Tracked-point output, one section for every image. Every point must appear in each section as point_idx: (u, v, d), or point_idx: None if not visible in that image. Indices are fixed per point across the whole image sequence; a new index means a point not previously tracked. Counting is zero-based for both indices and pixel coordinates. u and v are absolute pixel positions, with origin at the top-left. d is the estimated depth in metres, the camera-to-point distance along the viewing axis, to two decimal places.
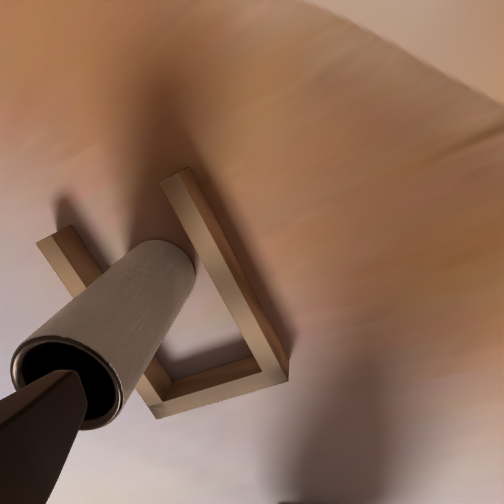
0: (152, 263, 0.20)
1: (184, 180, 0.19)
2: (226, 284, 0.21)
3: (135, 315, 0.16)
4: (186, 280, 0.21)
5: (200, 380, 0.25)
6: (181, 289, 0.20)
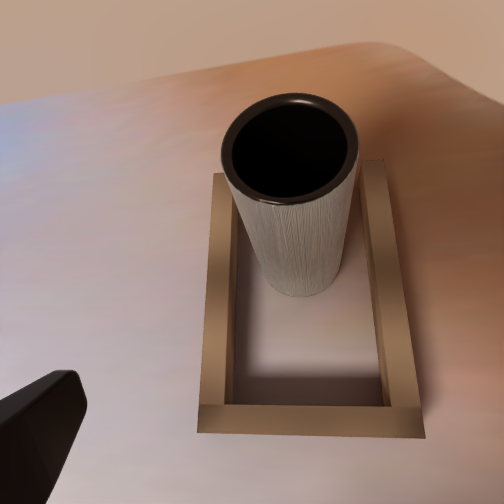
0: None
1: (383, 169, 0.21)
2: (388, 270, 0.18)
3: None
4: None
5: None
6: (342, 249, 0.18)
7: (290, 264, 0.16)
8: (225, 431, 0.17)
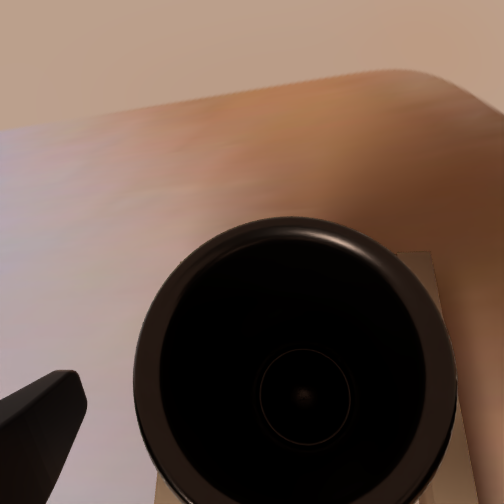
0: None
1: (430, 266, 0.14)
2: (448, 449, 0.11)
3: None
4: None
5: None
6: None
7: None
8: None
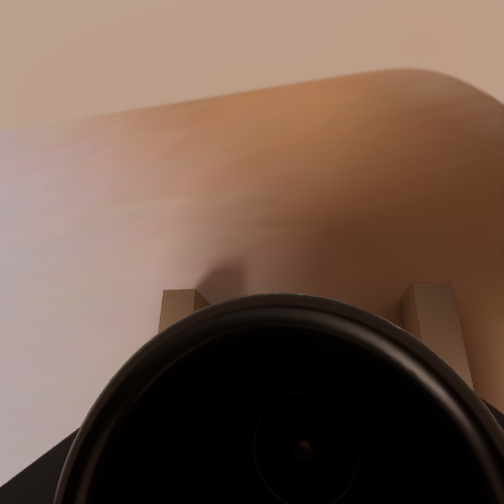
0: None
1: (451, 298, 0.12)
2: None
3: None
4: None
5: None
6: None
7: None
8: None
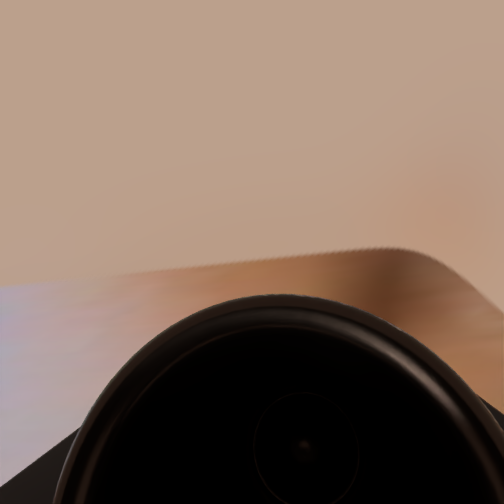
0: None
1: None
2: None
3: None
4: None
5: None
6: None
7: None
8: None
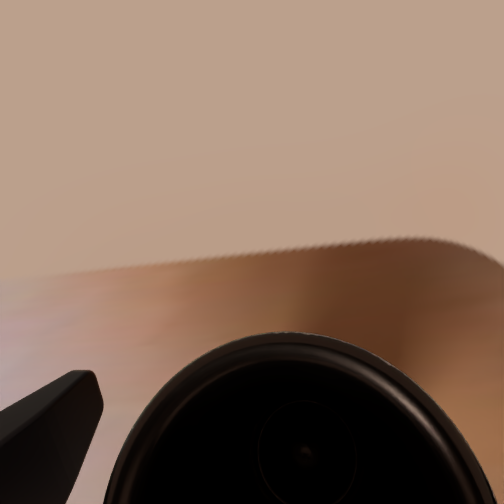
0: None
1: None
2: None
3: None
4: None
5: None
6: None
7: None
8: None
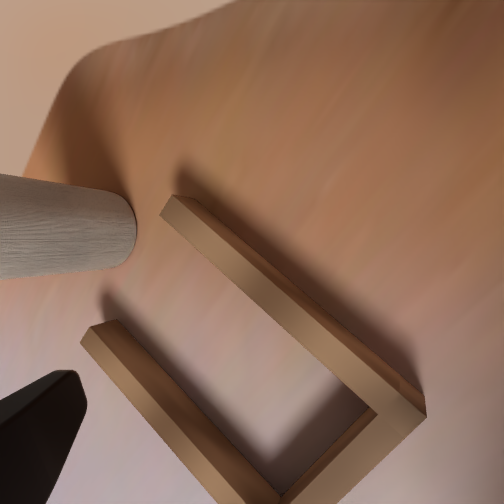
0: None
1: (182, 201, 0.18)
2: (268, 295, 0.16)
3: None
4: (106, 202, 0.19)
5: (309, 474, 0.16)
6: (93, 201, 0.18)
7: (47, 263, 0.16)
8: None
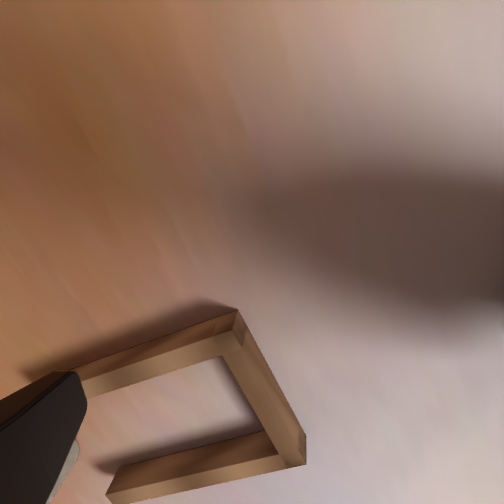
0: None
1: None
2: (120, 377, 0.21)
3: None
4: None
5: None
6: None
7: None
8: (296, 448, 0.21)
